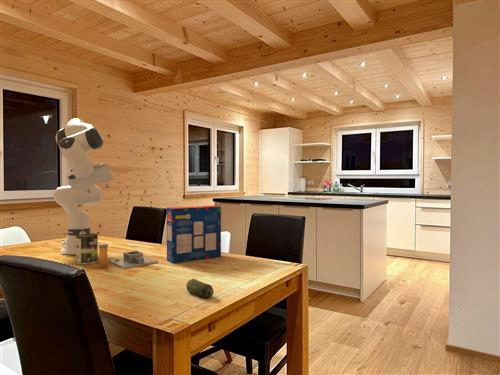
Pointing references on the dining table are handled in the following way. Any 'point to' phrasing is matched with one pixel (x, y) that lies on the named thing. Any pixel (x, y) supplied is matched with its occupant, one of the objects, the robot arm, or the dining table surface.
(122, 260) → the grey square base plate
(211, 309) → the dining table surface
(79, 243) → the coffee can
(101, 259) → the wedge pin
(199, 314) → the dining table surface
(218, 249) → the blue board game box
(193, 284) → the vegetable
